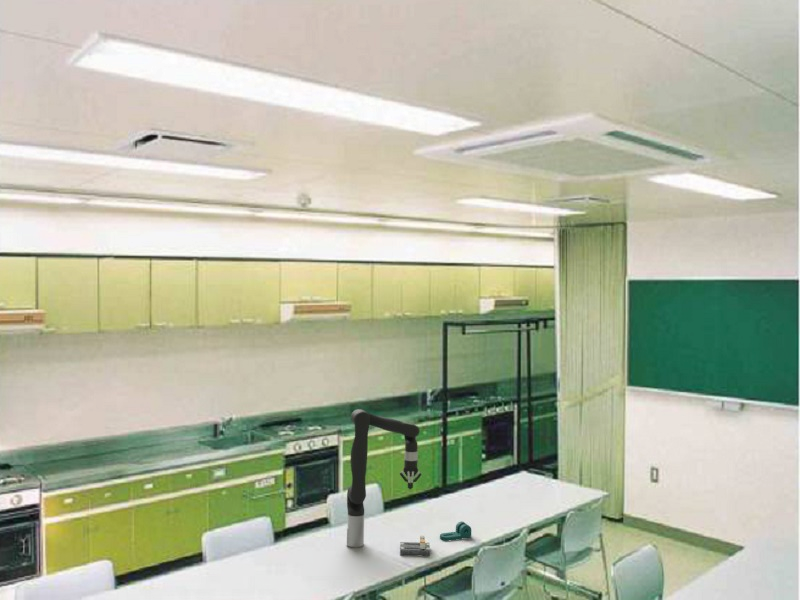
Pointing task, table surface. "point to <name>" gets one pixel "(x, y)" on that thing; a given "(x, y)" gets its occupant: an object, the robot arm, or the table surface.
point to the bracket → (457, 532)
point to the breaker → (422, 537)
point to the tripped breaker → (422, 544)
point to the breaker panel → (414, 549)
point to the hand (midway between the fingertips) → (410, 488)
